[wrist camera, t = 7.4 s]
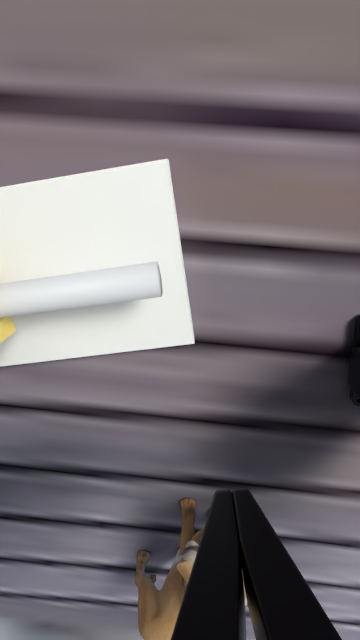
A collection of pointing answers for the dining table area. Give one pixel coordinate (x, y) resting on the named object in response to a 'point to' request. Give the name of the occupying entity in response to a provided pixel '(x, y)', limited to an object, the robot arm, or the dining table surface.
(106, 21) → the dining table surface
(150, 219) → the cord rail
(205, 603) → the robot arm
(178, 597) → the lion figurine
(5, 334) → the yellow pegged block
